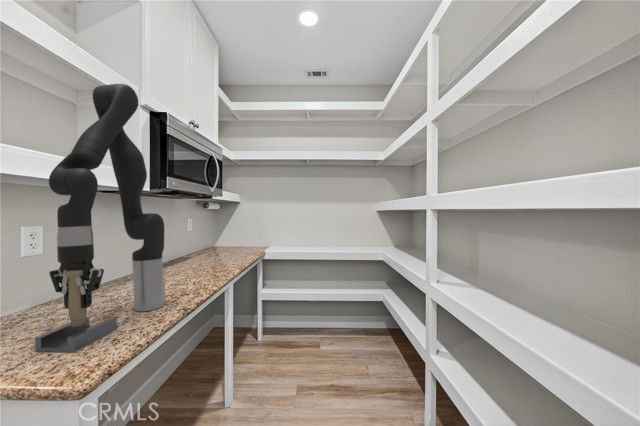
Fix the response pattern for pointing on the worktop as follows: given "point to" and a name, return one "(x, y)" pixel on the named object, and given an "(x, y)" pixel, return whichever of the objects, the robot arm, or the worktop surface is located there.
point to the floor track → (74, 336)
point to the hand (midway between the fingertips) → (78, 307)
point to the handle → (75, 299)
